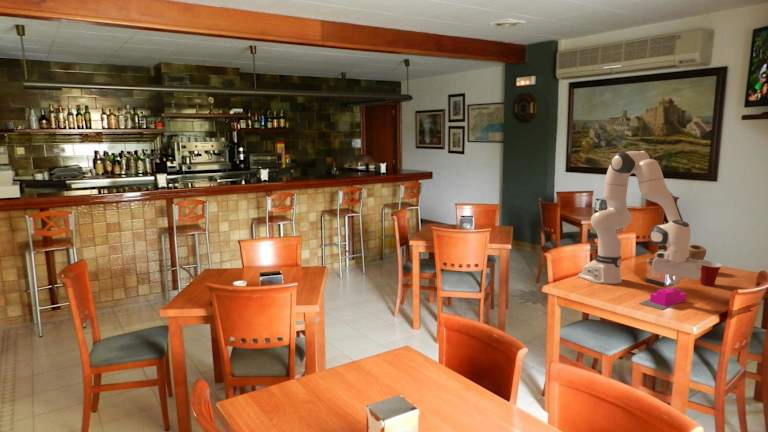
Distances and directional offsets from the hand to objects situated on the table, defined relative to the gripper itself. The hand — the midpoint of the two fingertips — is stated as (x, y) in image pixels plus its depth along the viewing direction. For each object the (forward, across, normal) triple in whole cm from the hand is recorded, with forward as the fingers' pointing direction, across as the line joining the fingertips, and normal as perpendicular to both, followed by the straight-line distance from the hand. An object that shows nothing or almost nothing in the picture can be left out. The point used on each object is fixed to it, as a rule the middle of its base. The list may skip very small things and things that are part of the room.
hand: (674, 284), depth 233 cm
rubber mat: (+9, +4, 0) cm, 10 cm away
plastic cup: (+10, +2, -44) cm, 45 cm away
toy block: (+6, -1, 0) cm, 6 cm away
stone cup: (+10, +18, -67) cm, 70 cm away
